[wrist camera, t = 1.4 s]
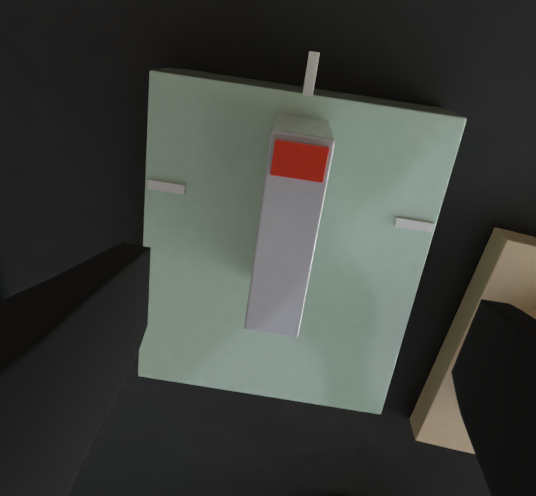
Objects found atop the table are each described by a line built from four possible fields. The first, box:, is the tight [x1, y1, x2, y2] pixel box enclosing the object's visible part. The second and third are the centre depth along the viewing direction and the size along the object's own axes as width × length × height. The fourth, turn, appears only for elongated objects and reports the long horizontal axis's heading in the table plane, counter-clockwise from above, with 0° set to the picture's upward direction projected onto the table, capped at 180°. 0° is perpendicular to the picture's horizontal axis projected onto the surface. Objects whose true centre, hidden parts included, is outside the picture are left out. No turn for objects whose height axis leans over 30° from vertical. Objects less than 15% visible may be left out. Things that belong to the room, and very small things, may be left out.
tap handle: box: [244, 113, 335, 338], centre depth 16 cm, size 6×2×4 cm, turn 172°
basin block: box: [138, 51, 467, 414], centre depth 20 cm, size 14×11×3 cm
